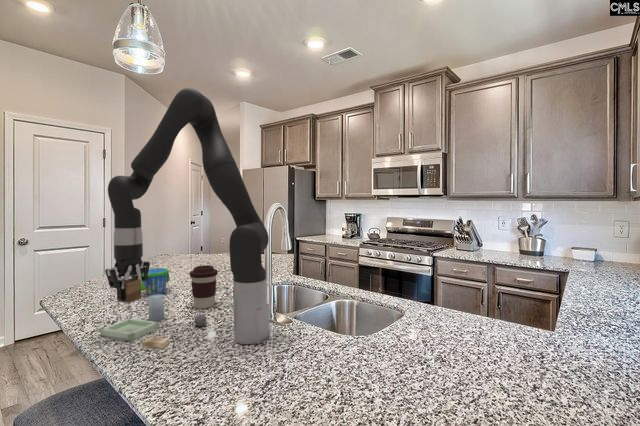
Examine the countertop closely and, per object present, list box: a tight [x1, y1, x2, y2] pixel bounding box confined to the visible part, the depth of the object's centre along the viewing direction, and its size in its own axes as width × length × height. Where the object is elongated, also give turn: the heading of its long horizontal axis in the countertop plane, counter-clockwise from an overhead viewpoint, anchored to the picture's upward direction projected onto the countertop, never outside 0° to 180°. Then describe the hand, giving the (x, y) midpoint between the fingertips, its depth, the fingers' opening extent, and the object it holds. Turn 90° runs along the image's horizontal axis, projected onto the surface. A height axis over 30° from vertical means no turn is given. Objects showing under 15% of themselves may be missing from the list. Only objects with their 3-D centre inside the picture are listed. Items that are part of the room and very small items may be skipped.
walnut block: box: [116, 277, 142, 304], centre depth 100 cm, size 4×4×6 cm
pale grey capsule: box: [147, 294, 165, 322], centre depth 111 cm, size 5×5×8 cm
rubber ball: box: [194, 314, 207, 327], centre depth 105 cm, size 4×4×4 cm
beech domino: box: [141, 336, 170, 350], centre depth 91 cm, size 6×3×2 cm, turn 81°
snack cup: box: [141, 267, 171, 297], centre depth 142 cm, size 16×10×10 cm
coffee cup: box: [189, 264, 218, 310], centre depth 125 cm, size 10×10×15 cm
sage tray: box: [99, 317, 160, 342], centre depth 101 cm, size 12×10×2 cm
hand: (129, 298), depth 100 cm, fingers closed on walnut block, 4 cm apart
